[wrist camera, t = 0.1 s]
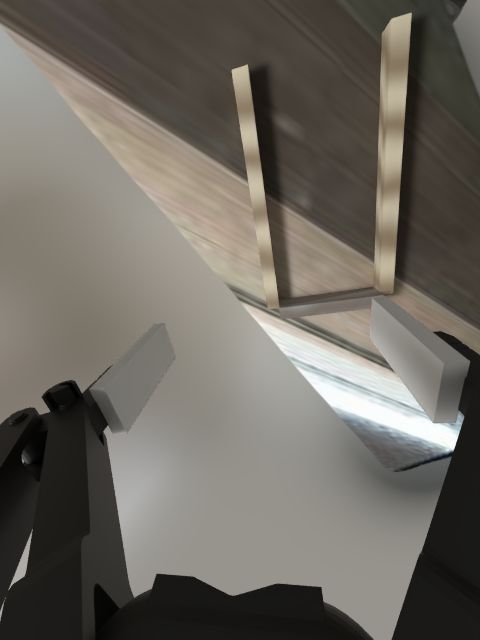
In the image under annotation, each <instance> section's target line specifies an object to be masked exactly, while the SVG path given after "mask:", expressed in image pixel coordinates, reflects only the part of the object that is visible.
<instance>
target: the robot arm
mask: <svg viewBox="0 0 480 640" xmlns="http://www.w3.org/2000/svg"><path fill="white" fill-rule="evenodd" d="M370 339H371V340H372V342H373V343H374V344H375V346H376V347H377V348H378V350H379V351H380V352H381V354H382V355H383V356H384V358H385V359H386V361H387V362H388V363H389V365H390V366H391V367H392V369H393V370H394V371H395V373H396V374H397V375H398V377H399V378H400V379H401V381H402V382H403V383H404V385H405V386H406V387H407V389H408V390H409V391H410V393H411V394H412V395H413V397H414V398H415V399H416V401H417V402H418V403H419V405H420V406H421V408H422V409H423V410H424V412H425V413H426V414H427V416H428V417H429V418H430V420H431V421H432V422H433V423H456V421H457V416H458V412H459V411H460V412H461V413H462V414H463V415H464V416H465V417H464V420H463V424H462V427H461V430H460V433H459V436H458V439H457V442H456V446H455V449H454V452H453V455H452V458H451V461H450V465H449V467H448V471H447V474H446V477H445V480H444V483H443V486H442V490H441V493H440V496H439V499H438V502H437V505H436V508H435V511H434V515H433V518H432V521H431V524H430V528H429V530H428V533H427V537H426V540H425V543H424V546H423V549H422V552H421V553H420V555H419V557H418V560H417V563H416V566H415V569H414V572H413V575H412V578H411V581H410V584H409V587H408V590H407V594H406V597H405V600H404V603H403V606H402V609H401V612H400V615H399V618H398V621H397V625H396V628H395V631H394V634H393V637H392V640H480V355H479V354H478V353H476V352H475V351H473V350H472V349H470V348H469V347H468V346H466V345H465V344H462V342H461V341H459V340H458V339H457V338H455V337H454V336H452V335H449V334H446V333H444V332H441V331H438V332H432V331H431V330H429V329H428V328H427V327H425V326H424V325H423V324H422V323H420V322H419V321H418V320H416V319H415V318H414V317H413V316H411V315H410V314H409V313H407V312H406V311H405V310H404V309H402V308H401V307H400V306H398V305H397V304H396V303H395V302H393V301H392V300H391V299H389V298H388V297H387V296H380V297H372V305H371V333H370ZM175 358H176V355H175V353H174V349H173V347H172V344H171V341H170V338H169V335H168V332H167V329H166V326H165V323H160V324H154V325H153V326H152V327H151V328H150V329H149V330H148V331H147V332H146V333H145V334H144V335H143V336H142V337H141V338H140V339H139V340H138V341H137V342H136V343H135V344H134V345H133V346H132V347H131V348H130V349H129V350H128V351H127V352H126V353H125V354H124V355H123V356H122V357H121V358H120V359H119V360H118V361H117V362H116V363H115V364H114V365H112V366H111V367H109V368H108V369H107V370H106V371H105V372H104V373H103V374H102V375H101V376H100V377H99V378H98V379H97V380H96V381H95V382H93V384H92V385H91V386H89V387H88V388H87V389H86V390H85V391H84V392H83V393H81V391H80V389H79V387H78V386H77V384H76V382H75V381H73V380H69V381H65V382H62V383H59V384H57V385H55V386H53V387H52V388H50V389H48V390H47V391H46V392H45V393H44V394H43V396H42V398H43V400H44V402H45V403H46V405H47V406H48V408H49V410H50V411H51V412H49V413H45V414H42V415H39V414H38V412H37V410H36V409H35V408H31V407H30V408H26V409H24V410H21V411H17V412H16V413H14V414H12V415H11V416H10V417H8V418H7V419H6V420H5V421H4V422H3V423H2V424H1V425H0V610H1V607H2V605H3V602H4V600H5V602H4V606H3V611H2V616H1V621H0V640H373V638H372V637H371V636H370V635H369V634H368V633H367V632H366V631H365V630H364V629H363V628H362V627H361V626H360V625H359V624H358V623H356V622H355V621H354V620H353V619H351V618H350V617H349V616H348V615H346V614H345V613H343V612H342V611H340V610H339V609H337V608H336V607H334V606H332V605H330V604H327V603H325V602H323V596H322V589H321V587H312V586H300V585H288V584H274V585H270V586H267V587H264V588H260V589H257V590H253V591H250V592H246V593H243V594H239V595H236V596H231V595H228V594H226V593H224V592H222V591H220V590H218V589H216V588H214V587H212V586H210V585H208V584H206V583H205V582H202V581H201V580H199V579H197V578H195V577H190V576H178V575H166V574H157V575H156V578H155V581H154V584H153V587H152V589H150V590H148V591H146V592H144V593H142V594H140V595H138V596H137V597H135V598H134V596H133V594H132V591H131V588H130V585H129V580H128V574H127V568H126V561H125V555H124V548H123V542H122V535H121V529H120V523H119V516H118V510H117V504H116V497H115V491H114V484H113V478H112V472H111V465H110V459H109V452H108V446H107V439H106V436H105V434H104V432H103V431H104V430H105V428H106V427H107V426H109V428H110V429H111V432H112V433H113V434H127V433H128V431H129V430H130V428H131V426H132V425H133V423H134V422H135V420H136V419H137V417H138V416H139V414H140V412H141V411H142V409H143V408H144V406H145V405H146V403H147V401H148V400H149V398H150V397H151V395H152V393H153V392H154V391H155V389H156V387H157V386H158V384H159V383H160V381H161V380H162V378H163V377H164V375H165V373H166V372H167V370H168V369H169V367H170V366H171V364H172V363H173V361H174V359H175ZM22 459H23V460H24V463H22ZM32 529H33V531H32ZM31 531H32V538H31V545H30V551H29V557H28V564H27V570H26V574H25V577H23V578H22V579H20V580H19V581H17V582H16V583H14V584H13V585H12V586H11V588H10V589H9V587H10V584H11V582H12V579H13V577H14V574H15V572H16V569H17V567H18V564H19V562H20V559H21V557H22V554H23V551H24V549H25V546H26V544H27V541H28V539H29V536H30V534H31ZM8 589H9V591H8ZM5 597H6V599H5Z"/></svg>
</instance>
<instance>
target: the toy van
mask: <svg viewBox="0 0 480 640" xmlns="http://www.w3.org/2000/svg"><path fill="white" fill-rule="evenodd" d="M444 2H445V4H446V7H447V9H448V12H449V15H450V17H451V20H452V23H454V21H455V20H456V19H457V18H458V16H459V14H460V13H461V11H462V9H463V7H464V5H465V3H466V2H467V0H444Z"/></svg>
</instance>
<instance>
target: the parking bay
mask: <svg viewBox="0 0 480 640" xmlns="http://www.w3.org/2000/svg"><path fill="white" fill-rule="evenodd" d="M411 14H412V13H409V14H406V15H402V16H399V17H396V18H393V19H391V20H390V22H389V24H388V25H387V27H386V28H385V30H384V31H383V33H382V51H381V82H380V113H379V143H378V174H377V205H376V235H375V266H374V287H373V288H365V289H358V290H350V291H343V292H335V293H328V294H320V295H313V296H305V297H298V298H290V299H283V300H279V298H278V290H277V283H276V275H275V267H274V260H273V252H272V245H271V237H270V229H269V222H268V214H267V206H266V199H265V191H264V183H263V176H262V168H261V160H260V153H259V145H258V138H257V130H256V122H255V115H254V107H253V99H252V92H251V84H250V76H249V70H248V65H245V66H242V67H239V68H236V69H233V70H232V76H233V83H234V89H235V96H236V102H237V109H238V116H239V122H240V129H241V135H242V142H243V148H244V155H245V162H246V168H247V175H248V181H249V188H250V194H251V201H252V208H253V214H254V221H255V227H256V234H257V240H258V247H259V254H260V260H261V267H262V273H263V280H264V287H265V293H266V300H267V306H268V309H274V308H279V309H280V317H281V319H286V318H295V317H303V316H311V315H320V314H328V313H337V312H345V311H353V310H362V309H370V308H371V305H372V297H380V296H384V295H383V294H391V293H393V287H394V272H395V257H396V242H397V227H398V212H399V196H400V181H401V166H402V151H403V136H404V121H405V105H406V90H407V75H408V60H409V45H410V30H411Z"/></svg>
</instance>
